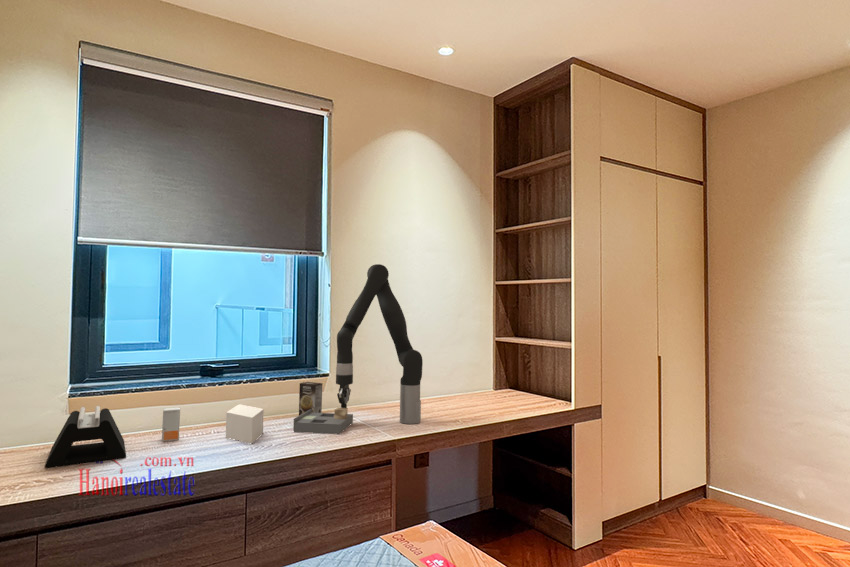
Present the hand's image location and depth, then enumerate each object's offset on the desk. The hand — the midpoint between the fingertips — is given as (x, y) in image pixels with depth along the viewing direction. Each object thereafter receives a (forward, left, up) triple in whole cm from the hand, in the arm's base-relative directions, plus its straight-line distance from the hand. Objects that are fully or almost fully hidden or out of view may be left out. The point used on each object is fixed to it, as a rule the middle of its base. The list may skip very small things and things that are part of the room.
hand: (343, 412), depth 227 cm
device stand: (+75, +59, -6) cm, 95 cm away
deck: (+7, +6, -6) cm, 11 cm away
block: (0, +4, -2) cm, 5 cm away
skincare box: (+59, +36, -6) cm, 69 cm away
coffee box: (+20, -12, -6) cm, 24 cm away
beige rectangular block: (+34, +25, -6) cm, 43 cm away
